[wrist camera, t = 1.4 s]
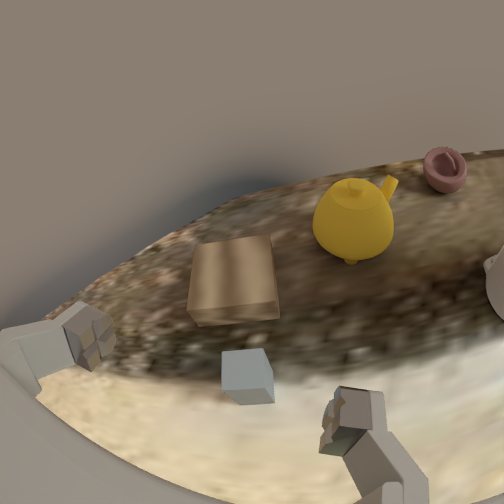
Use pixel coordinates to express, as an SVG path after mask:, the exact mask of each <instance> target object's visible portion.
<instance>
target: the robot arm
mask: <svg viewBox="0 0 504 504" xmlns="http://www.w3.org/2000/svg"><path fill="white" fill-rule="evenodd" d="M483 266H484V270H485V273H486V291H487V295H488V298H489V301H490V303H491V305H492V307H493V309H494V310H495V311H496V313H497V314H498V315H499V316H500V317H501V318H502V319H503V320H504V245H503V247H502V249H501V250H500V252H499V253H498V254H496V255H494V256H492V257H490V258H488V259H487V260H486V261H485V262H484V264H483ZM112 324H113V321H112V317H111V316H110V315H108V314H106V313H104V312H102V311H100V310H98V309H96V308H95V307H93V306H91V305H88V304H86V303H84V302H83V301H78V302H76V303H75V304H74V305H72V306H71V307H70V308H68V309H67V310H66V311H64V312H63V313H62V314H60V315H59V316H58V317H56V318H55V319H54V320H50V319H49V320H44V321H39V322H35V323H30V324H26V325H20V326H16V327H11V328H6V329H3V330H2V331H0V504H233V503H230V502H226V501H222V500H219V499H216V498H213V497H209V496H206V495H203V494H200V493H198V492H195V491H192V490H189V489H187V488H184V487H181V486H179V485H176V484H174V483H171V482H169V481H167V480H164V479H162V478H160V477H158V476H155V475H153V474H151V473H149V472H147V471H145V470H143V469H141V468H139V467H137V466H135V465H133V464H131V463H129V462H127V461H125V460H123V459H122V458H120V457H118V456H116V455H114V454H113V453H111V452H109V451H108V450H106V449H104V448H103V447H101V446H99V445H98V444H96V443H95V442H93V441H91V440H90V439H88V438H87V437H85V436H84V435H82V434H81V433H79V432H78V431H77V430H75V429H74V428H72V427H71V426H70V425H68V424H67V423H65V422H64V421H63V420H61V419H60V418H59V417H57V416H56V415H55V414H54V413H52V412H51V411H50V410H49V409H47V408H46V407H45V406H44V405H43V404H41V403H40V402H39V401H38V400H37V399H36V398H35V397H36V396H37V395H38V394H39V393H40V392H41V391H42V388H41V386H40V384H39V382H38V380H37V379H39V378H42V377H45V376H47V375H50V374H52V373H55V372H57V371H60V370H62V369H65V368H67V367H70V366H72V365H75V363H76V364H77V365H79V366H81V367H83V368H84V369H86V370H88V371H90V372H92V371H93V370H94V369H95V368H96V367H97V366H98V365H99V364H100V363H101V357H102V356H105V355H108V354H109V353H110V352H111V351H112V349H113V347H114V345H115V339H116V337H115V332H114V331H113V329H112V328H111V326H112ZM322 427H323V429H324V430H325V431H324V433H323V434H322V436H321V437H320V446H319V453H321V454H327V455H334V456H341V457H343V460H344V462H345V464H346V466H347V468H348V470H349V472H350V474H351V476H352V478H353V480H354V482H355V484H356V486H357V488H358V490H359V492H360V494H361V496H362V499H360V500H358V501H357V502H355V503H353V504H429V486H428V478H427V477H426V476H425V475H424V473H423V472H422V471H421V469H420V468H419V467H418V466H417V464H416V463H415V462H414V460H413V459H412V458H411V456H410V455H409V454H408V453H407V451H406V450H405V449H404V447H403V446H402V445H401V444H400V442H399V441H398V440H397V438H396V437H395V436H394V435H393V433H392V432H387V420H386V410H385V401H384V394H383V393H382V392H379V391H371V390H364V389H357V388H350V387H344V386H339V387H338V388H337V389H336V391H335V392H334V399H333V400H331V401H329V403H328V405H327V407H326V410H325V412H324V416H323V421H322ZM472 504H504V493H502V494H499V495H497V496H494V497H491V498H488V499H485V500H482V501H479V502H476V503H472Z"/></svg>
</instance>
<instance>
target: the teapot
mask: <svg viewBox="0 0 504 504" xmlns="http://www.w3.org/2000/svg"><path fill="white" fill-rule="evenodd" d="M398 182H399V181H398V180H397V179H395V178H393V177H391V176H390V175H388V176H387V178H386V179H385V181H384V183H383V185H382V187H381V189H380V190H379V188H378V187H377V186H375V185H374V184H372V183H371V182H368V181H366V180H363V179H357V178H349V179H344V180H341V181H338V182H336V183H335V184H334V185H332V186H331V187H330V188H329V189H328V191H327V192H326V193H325V194H324V195H323V197H322V198H321V200H320V201H319V203H318V205H317V207H316V210H315V213H314V217H313V232H314V235H315V237H316V239H317V241H318V242H319V244H320V245H321V246H322V247H323V248H324V249H325V250H327V251H328V252H330V253H331V254H333V255H335V256H337V257H340V258H343V259H344V261H345V263H347V264H349V265H354V264H356V263H357V262H358V260H364V259H369V258H372V257H374V256H377V255H378V254H380V253H382V252H383V251H384V250H385V249H386V248H387V247H388V246H389V244H390V242H391V240H392V238H393V232H394V221H393V215H392V211H391V209H390V206H389V204H388V203H389V201H390V199H391V196H392V194H393V192H394V190H395V188H396V186H397V184H398Z"/></svg>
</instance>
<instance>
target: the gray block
mask: <svg viewBox="0 0 504 504" xmlns="http://www.w3.org/2000/svg"><path fill="white" fill-rule="evenodd" d="M221 390H222V391H223V392H224V393H226V394H227V395H228V396H229V397H231V398H232V399H233V400H234V401H236V402H237V403H238V404H240V405H256V404H269V403H275V397H274V381H273V371H272V368H271V366H270V364H269V361H268V359H267V357H266V354H265V352H264V350H263V348H258V349H248V350H236V351H223V352H222V388H221Z"/></svg>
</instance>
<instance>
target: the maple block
mask: <svg viewBox="0 0 504 504" xmlns="http://www.w3.org/2000/svg"><path fill="white" fill-rule="evenodd" d="M187 312H188V313H189V315H190V316H191V317H192V319H193V320H194V321H195V323H196V324H197V325H198V327H202V326H214V325H225V324H235V323H244V322H253V321H262V320H270V319H278V318H280V314H279V304H278V293H277V283H276V274H275V264H274V255H273V249H272V244H271V239H270V234H264V235H258V236H251V237H245V238H238V239H232V240H226V241H219V242H213V243H207V244H201V245H195V248H194V255H193V263H192V270H191V278H190V286H189V294H188V302H187Z"/></svg>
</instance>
